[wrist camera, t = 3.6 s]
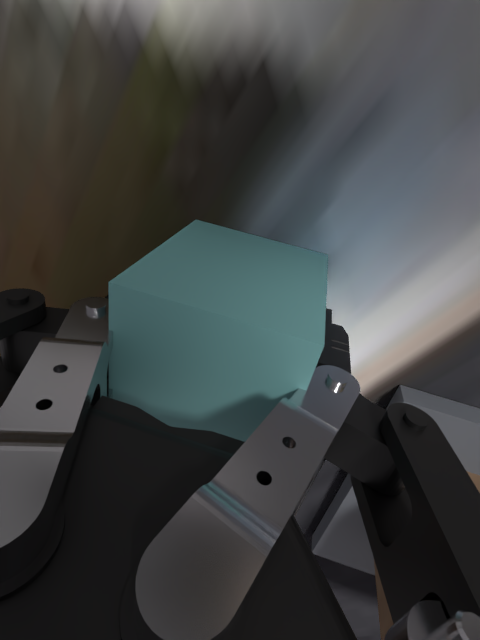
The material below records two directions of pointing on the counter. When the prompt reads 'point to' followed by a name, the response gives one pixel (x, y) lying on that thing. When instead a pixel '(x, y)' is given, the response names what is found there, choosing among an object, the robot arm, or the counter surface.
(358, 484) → the robot arm
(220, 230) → the teal block
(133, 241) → the counter surface
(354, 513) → the slate pad
